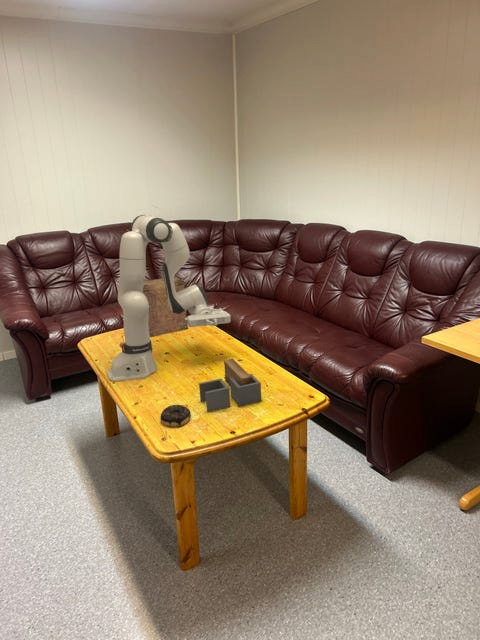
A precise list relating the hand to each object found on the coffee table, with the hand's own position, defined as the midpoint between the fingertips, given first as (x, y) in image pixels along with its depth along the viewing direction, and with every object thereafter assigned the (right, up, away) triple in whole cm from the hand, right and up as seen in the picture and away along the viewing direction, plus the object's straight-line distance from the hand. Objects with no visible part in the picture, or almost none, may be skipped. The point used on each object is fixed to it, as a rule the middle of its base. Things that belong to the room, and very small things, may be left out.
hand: (214, 324), depth 204 cm
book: (-32, -5, +58) cm, 66 cm away
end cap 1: (+1, -31, -26) cm, 40 cm away
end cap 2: (+14, -29, -22) cm, 39 cm away
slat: (+11, -27, -15) cm, 33 cm away
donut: (-12, -35, -35) cm, 51 cm away
